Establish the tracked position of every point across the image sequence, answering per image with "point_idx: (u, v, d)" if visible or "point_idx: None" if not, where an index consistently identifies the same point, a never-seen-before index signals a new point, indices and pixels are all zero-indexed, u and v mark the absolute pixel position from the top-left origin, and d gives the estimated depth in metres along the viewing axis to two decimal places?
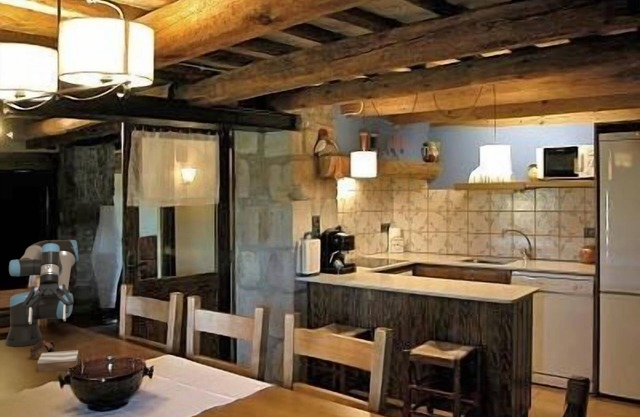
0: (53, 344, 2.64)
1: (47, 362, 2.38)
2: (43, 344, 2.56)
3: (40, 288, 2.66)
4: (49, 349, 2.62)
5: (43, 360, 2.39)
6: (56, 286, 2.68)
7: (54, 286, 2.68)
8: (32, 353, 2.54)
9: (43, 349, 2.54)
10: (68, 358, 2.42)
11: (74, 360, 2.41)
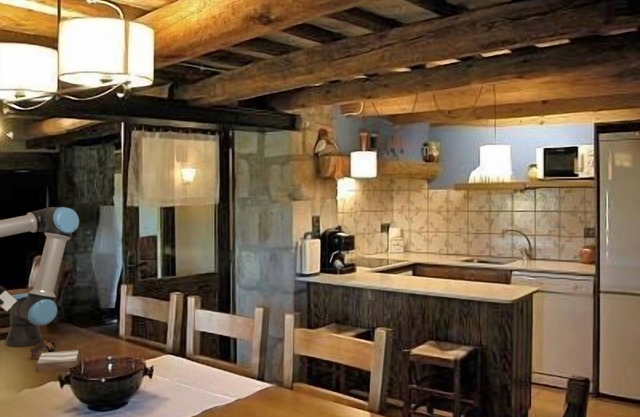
0: (54, 344, 2.63)
1: (47, 362, 2.38)
2: (44, 344, 2.55)
3: None
4: (50, 349, 2.62)
5: (43, 360, 2.39)
6: None
7: None
8: (33, 353, 2.54)
9: (44, 349, 2.54)
10: (68, 358, 2.42)
11: (74, 360, 2.41)
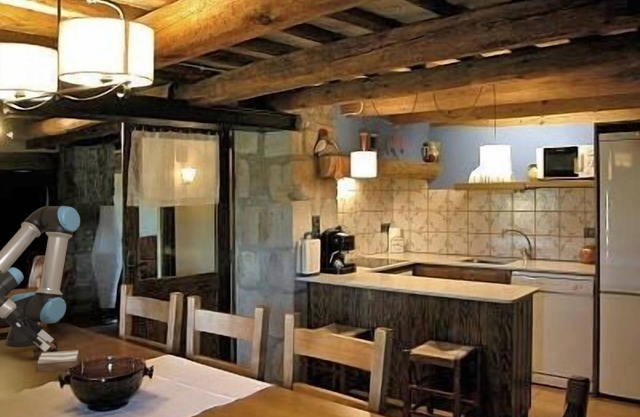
0: (56, 344, 2.63)
1: (47, 362, 2.38)
2: None
3: None
4: (52, 349, 2.61)
5: (43, 360, 2.39)
6: None
7: None
8: (35, 353, 2.53)
9: None
10: (68, 358, 2.42)
11: (74, 360, 2.41)
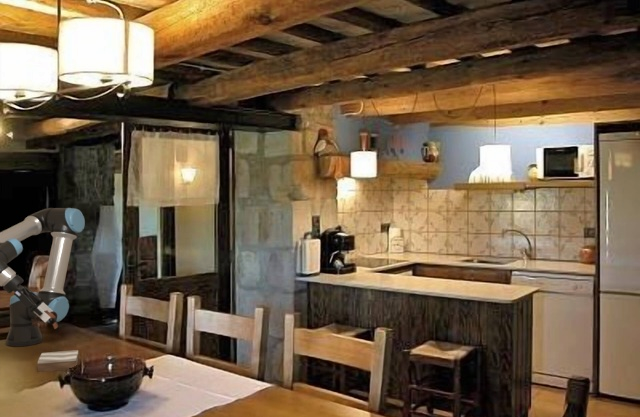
0: (55, 315, 2.58)
1: (47, 362, 2.38)
2: None
3: None
4: (51, 320, 2.56)
5: (43, 360, 2.39)
6: None
7: None
8: (34, 322, 2.49)
9: None
10: (68, 358, 2.42)
11: (74, 360, 2.41)
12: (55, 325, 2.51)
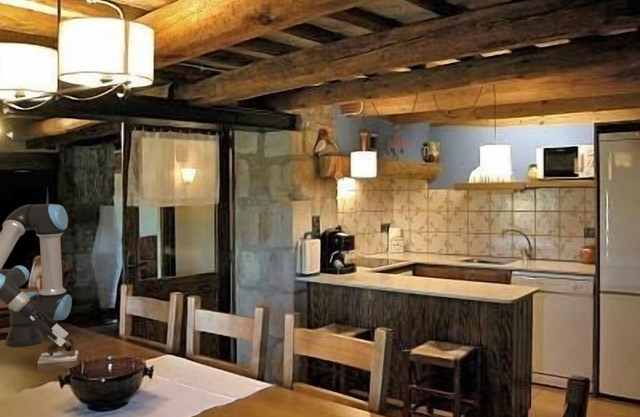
0: (71, 341, 2.51)
1: (47, 362, 2.38)
2: None
3: None
4: (67, 347, 2.49)
5: (43, 360, 2.39)
6: None
7: None
8: (50, 351, 2.41)
9: (62, 347, 2.42)
10: (68, 358, 2.42)
11: (74, 360, 2.41)
12: (72, 353, 2.45)
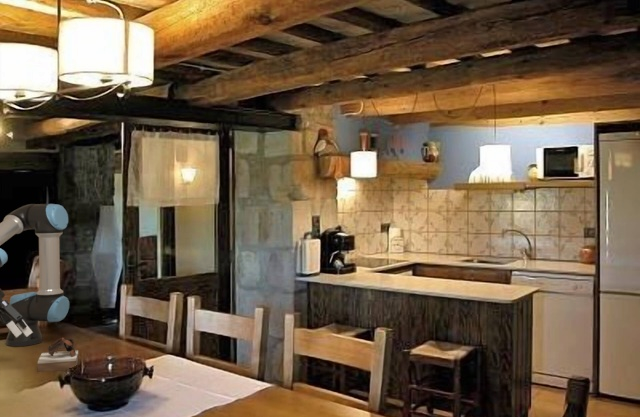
0: (72, 342, 2.51)
1: (47, 362, 2.38)
2: (62, 341, 2.43)
3: None
4: (68, 347, 2.49)
5: (43, 360, 2.39)
6: None
7: None
8: (51, 351, 2.41)
9: (62, 347, 2.42)
10: (68, 358, 2.42)
11: (74, 360, 2.41)
12: (73, 353, 2.44)
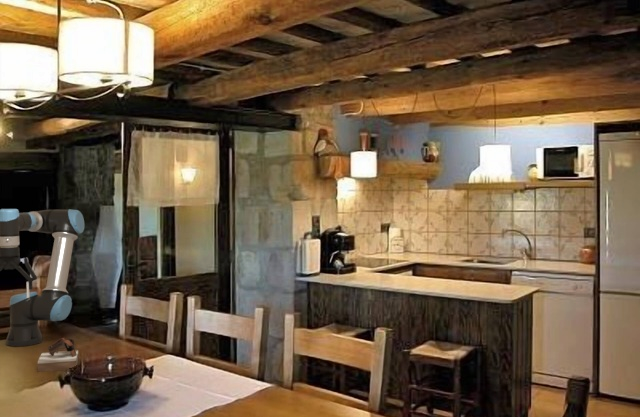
0: (72, 342, 2.51)
1: (47, 362, 2.38)
2: (63, 342, 2.43)
3: (0, 262, 2.47)
4: (68, 347, 2.49)
5: (43, 360, 2.39)
6: (17, 260, 2.49)
7: (15, 260, 2.48)
8: (51, 351, 2.41)
9: (63, 347, 2.42)
10: (68, 358, 2.42)
11: (74, 360, 2.41)
12: (73, 353, 2.44)
